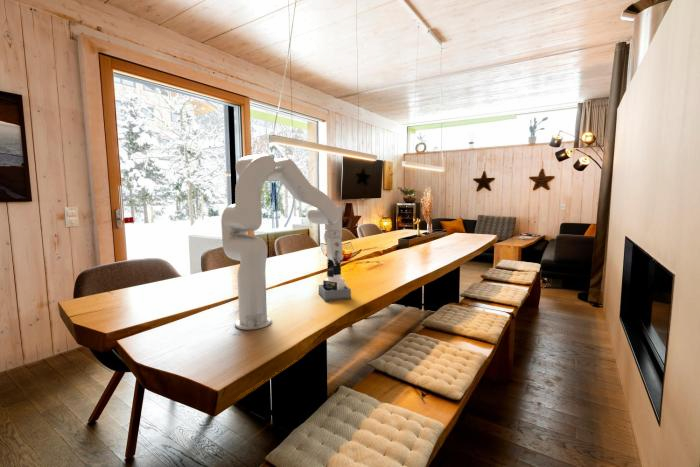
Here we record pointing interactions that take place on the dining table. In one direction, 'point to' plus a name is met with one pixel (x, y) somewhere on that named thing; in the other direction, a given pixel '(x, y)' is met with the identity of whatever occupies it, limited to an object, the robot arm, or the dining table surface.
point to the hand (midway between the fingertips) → (334, 272)
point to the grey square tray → (335, 294)
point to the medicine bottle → (333, 281)
